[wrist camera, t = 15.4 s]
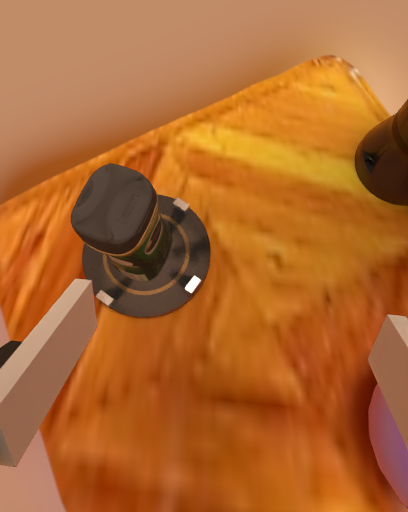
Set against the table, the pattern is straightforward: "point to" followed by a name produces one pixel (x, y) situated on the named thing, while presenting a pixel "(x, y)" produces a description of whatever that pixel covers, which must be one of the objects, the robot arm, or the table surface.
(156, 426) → the table surface
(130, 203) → the coffee jar
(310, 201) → the table surface
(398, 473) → the ball
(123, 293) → the lug base plate
